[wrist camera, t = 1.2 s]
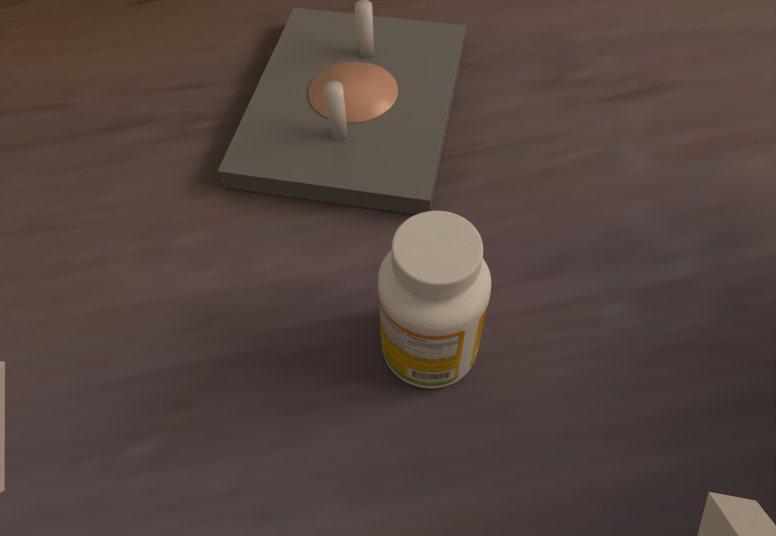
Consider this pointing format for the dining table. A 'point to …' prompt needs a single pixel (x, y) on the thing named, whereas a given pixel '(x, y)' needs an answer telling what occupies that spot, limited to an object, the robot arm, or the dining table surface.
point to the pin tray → (350, 111)
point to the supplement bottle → (433, 299)
